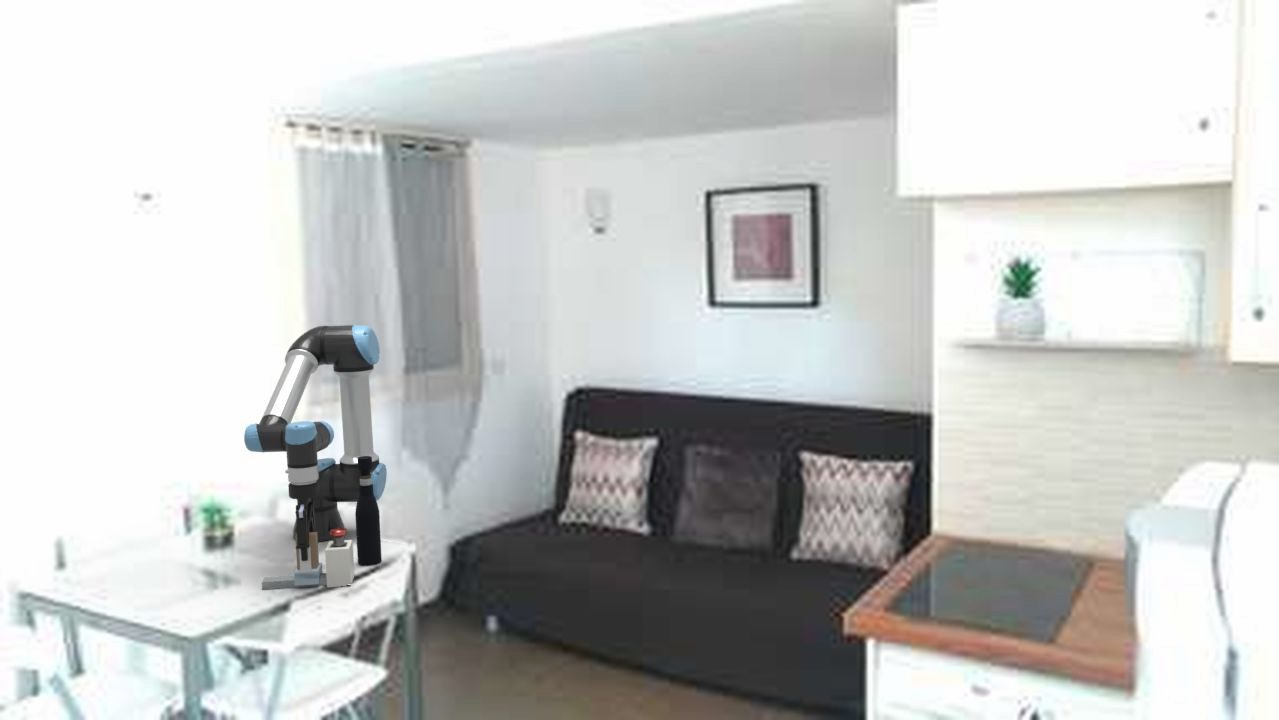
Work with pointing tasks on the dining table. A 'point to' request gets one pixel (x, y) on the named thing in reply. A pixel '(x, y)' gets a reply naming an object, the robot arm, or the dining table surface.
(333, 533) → the red mushroom push button
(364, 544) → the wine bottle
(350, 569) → the white button housing
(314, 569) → the carriage
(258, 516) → the dining table surface
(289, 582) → the rail
